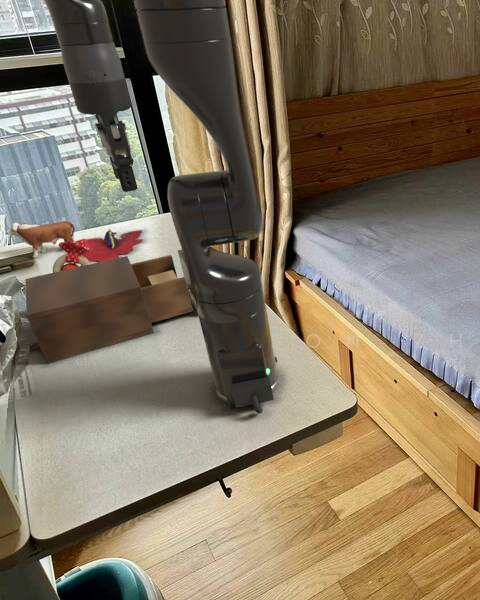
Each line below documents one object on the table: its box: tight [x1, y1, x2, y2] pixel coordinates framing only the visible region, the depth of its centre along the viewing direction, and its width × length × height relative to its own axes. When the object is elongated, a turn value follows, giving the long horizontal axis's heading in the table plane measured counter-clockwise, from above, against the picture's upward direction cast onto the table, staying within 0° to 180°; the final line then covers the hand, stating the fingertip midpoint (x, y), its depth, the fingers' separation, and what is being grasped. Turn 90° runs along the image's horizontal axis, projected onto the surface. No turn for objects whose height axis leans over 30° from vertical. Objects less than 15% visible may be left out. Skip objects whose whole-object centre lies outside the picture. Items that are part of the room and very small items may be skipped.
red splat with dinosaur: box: [82, 228, 143, 263], centre depth 129 cm, size 18×15×5 cm
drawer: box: [131, 249, 194, 324], centre depth 103 cm, size 22×14×8 cm, turn 122°
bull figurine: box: [8, 220, 76, 259], centre depth 126 cm, size 4×13×8 cm, turn 107°
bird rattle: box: [52, 238, 92, 273], centre depth 110 cm, size 6×11×9 cm
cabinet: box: [25, 255, 155, 364], centre depth 97 cm, size 17×15×9 cm
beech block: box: [148, 270, 179, 285], centre depth 102 cm, size 5×5×5 cm
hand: (126, 183), depth 88 cm, fingers open, 8 cm apart
